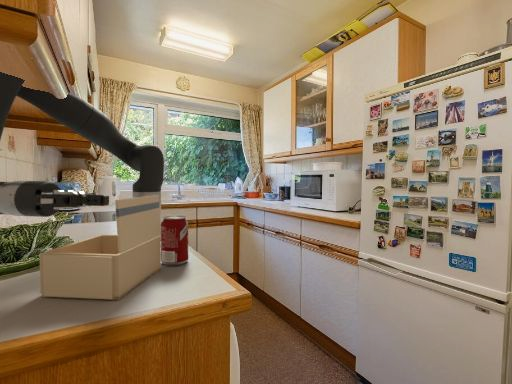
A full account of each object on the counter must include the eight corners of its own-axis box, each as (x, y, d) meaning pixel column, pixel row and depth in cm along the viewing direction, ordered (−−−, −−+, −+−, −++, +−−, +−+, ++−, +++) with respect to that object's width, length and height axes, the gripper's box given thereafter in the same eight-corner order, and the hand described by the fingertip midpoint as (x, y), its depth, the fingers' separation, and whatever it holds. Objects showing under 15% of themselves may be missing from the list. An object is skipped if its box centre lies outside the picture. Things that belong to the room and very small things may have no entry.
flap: (158, 235, 64) (156, 195, 64) (160, 235, 64) (158, 195, 64) (118, 253, 48) (115, 199, 48) (121, 253, 48) (117, 199, 48)
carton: (101, 266, 67) (100, 234, 67) (161, 268, 66) (161, 235, 65) (35, 297, 49) (34, 253, 49) (117, 301, 48) (116, 256, 47)
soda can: (174, 268, 66) (174, 219, 65) (155, 264, 69) (154, 217, 68) (193, 261, 72) (193, 216, 71) (175, 257, 75) (174, 214, 74)
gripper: (-3, 180, 51) (84, 181, 50) (55, 181, 64) (125, 182, 63) (-3, 220, 51) (84, 222, 50) (55, 213, 64) (124, 215, 63)
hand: (106, 200), depth 56 cm, fingers closed
